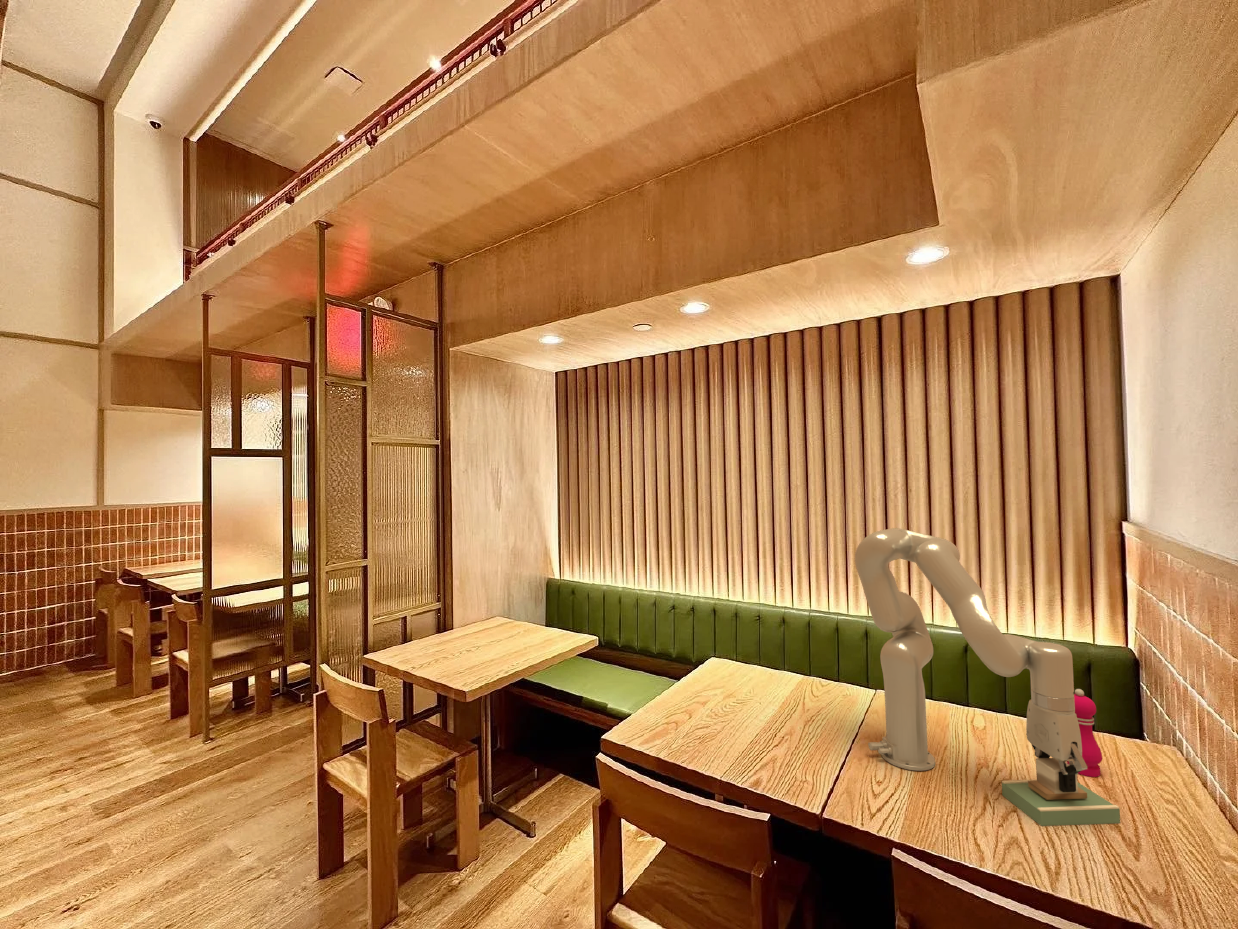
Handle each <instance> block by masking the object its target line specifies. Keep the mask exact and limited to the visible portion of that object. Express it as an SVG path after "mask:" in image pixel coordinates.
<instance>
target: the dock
mask: <svg viewBox="0 0 1238 929" xmlns="http://www.w3.org/2000/svg"><path fill="white" fill-rule="evenodd" d="M1028 781H1037V778H1035V779H1015V780H1014V779H1013V780H1001V794H1002V796H1003V797H1004V798H1005V799H1006V800H1008V801H1009V802H1010V803H1011V804H1013V805H1014V806H1016V807H1017V808H1018V809H1019V810H1020V811H1021V812H1023V813H1024V814H1025V815H1027V816H1028V817H1029V818H1031V819H1032V820H1033V821H1034V822H1036V824H1038V825H1040V826H1041V827H1047V826H1048V827H1049V826H1079V825H1081V826H1082V825H1103V824H1107V825H1109V824H1120V823H1121V814H1120V813H1121V812H1120V810H1121V809H1120V806H1118V805H1116V804H1113V803H1111V802H1110V801H1108V800H1107V799H1105V798H1104V797H1102V796H1100V795H1099V794H1097V793H1095V792H1094V791H1092V790H1091V789H1089V788H1088V787H1086V786H1085V785H1083V784H1081V783H1080V782H1078V787H1079V788H1080V789H1082V790H1084V791H1085V792H1087V798H1084V799H1053V800H1046V799H1045V798H1044V797H1042V796H1041V795H1040V794H1038V793H1037V792H1035V791H1034V790H1033V789H1031V788H1030V787H1028Z"/></svg>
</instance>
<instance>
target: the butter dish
mask: <svg viewBox="0 0 1238 929" xmlns="http://www.w3.org/2000/svg"><path fill="white" fill-rule="evenodd" d="M1065 763H1066V767H1067V766H1069V764H1067V762H1065ZM1035 772H1036V773H1035V774H1036V779H1037V781H1028V787H1030V788H1031V789H1033V790H1034V791H1035V792H1037V793H1038V794H1040V795H1041V796H1042V797H1044V798H1045V799H1046V800H1053V799H1084V798H1087V792H1085V791H1084V790H1082V789H1080V788H1079V787H1078V783H1079V782H1078V774H1075V778H1076V791H1075V792H1062V791H1060V787H1059V772H1061V769H1060V765H1059V761H1058V760H1057V759H1055V758H1053V757H1049V758H1037V757H1036V758H1035Z"/></svg>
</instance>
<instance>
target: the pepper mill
mask: <svg viewBox="0 0 1238 929" xmlns="http://www.w3.org/2000/svg"><path fill="white" fill-rule="evenodd" d="M1074 702H1075V714H1076V716H1077V719H1078V724H1079V729H1080V734H1081V742H1082V758H1083V759H1084V761H1085V763H1086V765H1087V769H1085V770H1081V771H1080V772H1078V774H1077V775H1081V776H1085V777H1090V778H1096V777H1097V778H1098V777H1099V776H1101V767H1100V765H1099V764H1100V763H1101V762H1102V761H1103V752H1102V751H1101V748H1100V746H1099V744H1098V742H1097V741H1096V738H1095V736H1094V732H1093V726H1094V725H1095V718H1094V717H1093V716H1095V715H1096V713H1097V706H1096V704H1095V702H1094V701H1093V700H1092V699H1091V698H1089V697H1087V696H1086V695H1085V692H1084V690H1082V689H1081V688H1076V689H1074ZM1066 763H1067V764H1069V761H1068V762H1066Z"/></svg>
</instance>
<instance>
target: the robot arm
mask: <svg viewBox="0 0 1238 929" xmlns="http://www.w3.org/2000/svg"><path fill="white" fill-rule="evenodd" d="M960 558H961V554H960V551H959V549H958V547H957V546H956V545H955V544H954V543H953V542H952V541H950V540H948V539H946V538H941V537H938V536H934V535H928V534H925V533H921V532H916V531H913V530H908V529H905V528H897V527H896V528H895V527H894V528H893V527H892V528H888V529H881V530H877V531H874V532H872V533H870V534H868V535H867V536H865V538H863V539H862V540H861V541H860V543H859V544H858V546H857V547H856V549H855V552H854V565H855V569H856V572H857V574H858V578H859V580H860V584H861V586H862V588H863V593H864V596H865V599H866V602H867V605H868V608H869V611H870V614H871V618H872V621H873V623H874V625H876V627H877V628H878V629H880V631H882V632H885V633H891V635H892V637H891V638H890V639H888V640H887V641H886V642H885V643H884V644H883V646H882V648H881V649H880V654H879V655H880V656H879V657H880V664H881V665H880V666H881V669H882V670H881V671H882V676H883V686H884V706H885V708H884V709H885V710H884V711H885V731H886V736H882V740H880V741H878V742H876V741H868V743H867V745H868V749H869V750H870V751H878V754H879V755H881V757H882V758H883V759H884V760H885V761H886V762H888V763H889V764H891V765H893V766H894V767H898V768H901V769H905V770H909V771H914V772H915V771H918V772H919V771H920V772H923V771H929V770H931V769H933V768H934V767H935V766H936V760H935V759H936V758H935V757H934V756H933V754H932V753H931V752H929V748H928V727H927V725H928V723H927V705H926V704H927V703H926V702H927V701H926V689H925V682H924V678H923V672H922V671H923V668H924V667H925V666H926V665H927V664H928V663H929V662H930V661H931V659H932V658H933V656H934V645H933V643H932V642H933V641H932V639H931V635H930V633H929V630H928V628H927V624H926V622H925V619H924V616H923V614H922V613H923V612H922V611H921V608H920V606H919V604H918V602H917V601H916V600H915V598H913V597H912V596H911V595H910V594H908V593H906V592H903V591H900V590H899V588H898V585H897V581H896V578H895V576H894V573H892V571H891V569H890V567H889V564H890V563H891V562H893V561H896V560H904V561H907V562H911V563H914V564H916V565H917V566H916V567H918V569H919V570H920V571H921V572H922V574H923V575H924V577H925V578H926V579H927V580H928V581H929V583H930V584H931V585H932V586H933V589H935V591H936V592H937V593H938V594H939V596H940V597H941V598H942V599H943V601H944V603H946V605H947V606H948V608H949V610H950V612H951V614H952V617H953V619H954V621H955V622H956V625H957V626H958V628H959V630H960V632H961V635H962V636H963V637H964V639H965V640H966V643H968V645H969V647H970V648H971V649H972V650H973V652H974V653H975V655H977V657H978V658H979V659H980V661H981V662H982V663H983V664H984V665H985V666H986V667H987V668H988V669H989V670H990V671H991V672H993V674H996V675H999V676H1001V677H1006V678H1011V677H1012V678H1013V677H1015V676H1018V675H1019V674H1021V672H1022V671H1023V670H1025V669H1027V670H1029V674H1030V677H1029V678H1030V695H1031V697H1030V698H1031V699H1029V701H1028V704H1027V711H1026V723H1025V724H1026V727H1025V728H1026V731H1025V735H1026V739H1027V741H1028V742H1029V743H1030V744H1031V746H1032V749H1033V750H1034V756H1035V757H1036V758H1055V759H1057V760H1058V761H1059V765H1060V769H1061V772H1059V787H1060V791H1062V792H1075V791H1076V778H1075V774H1077V775H1079V774H1078V772H1080V771H1081V770H1085V769H1087V765H1086V763H1085V761H1084V759H1083V758H1082V742H1081V734H1080V729H1079V724H1078V719H1077V716H1076V714H1075V702H1074V694H1075V688H1074V687H1075V686H1074V685H1075V684H1074V667H1073V666H1074V665H1073V664H1074V662H1073V661H1074V660H1073V653H1072V651H1071V650H1070V649H1069V648H1068V647H1067V646H1065V645H1062V644H1058V643H1055V642H1054V643H1053V642H1048V641H1047V642H1046V641H1036V640H1034V639H1033V640H1032V639H1030V638H1026V637H1022V636H1019V635H1014V634H1008V633H1007V634H1003V633H1002V632H1001V630H1000V629H999V628H998V626H997V624H995V622H994V620H993V619H992V616H991V614H990V612H989V610H988V606H987V600H986V595H985V594H984V591H983V589H982V588H981V586H979V584H978V583H977V582H976V580H975V579H974V578H973V577H972V575H970V573H969V572H968V571H967V570H966V568H965V567H964V566H963V565H962V564H961V562H960ZM1068 761H1069V766H1067V767H1066V763H1067V762H1068Z"/></svg>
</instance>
